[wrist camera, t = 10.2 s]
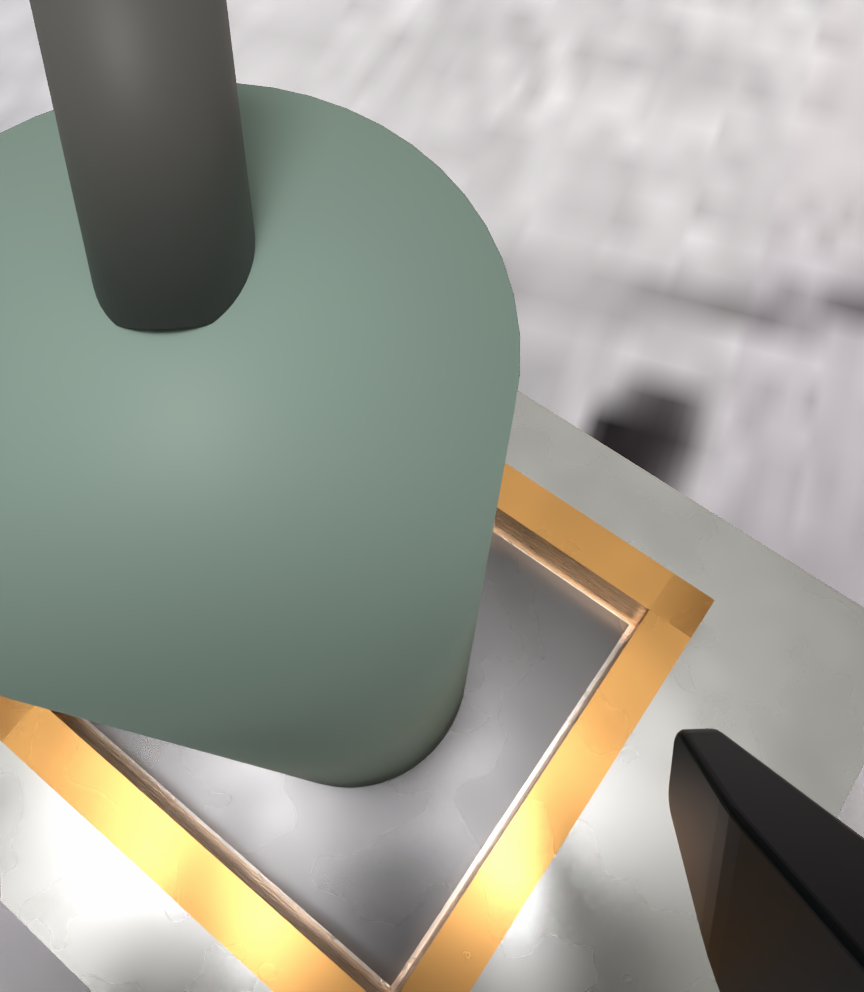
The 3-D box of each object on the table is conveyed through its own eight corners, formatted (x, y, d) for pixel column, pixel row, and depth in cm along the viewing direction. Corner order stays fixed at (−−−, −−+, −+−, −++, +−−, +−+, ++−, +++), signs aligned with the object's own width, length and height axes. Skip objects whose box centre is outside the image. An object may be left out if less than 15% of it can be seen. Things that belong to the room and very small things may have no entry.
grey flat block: (878, 661, 20) (965, 631, 16) (515, 1346, 15) (535, 1493, 12) (272, 272, 24) (246, 189, 21) (-152, 700, 20) (-271, 677, 16)
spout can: (470, 784, 17) (614, 627, 3) (233, 791, 17) (-784, 660, 3) (461, 556, 19) (522, -209, 5) (248, 561, 19) (-315, -186, 5)
